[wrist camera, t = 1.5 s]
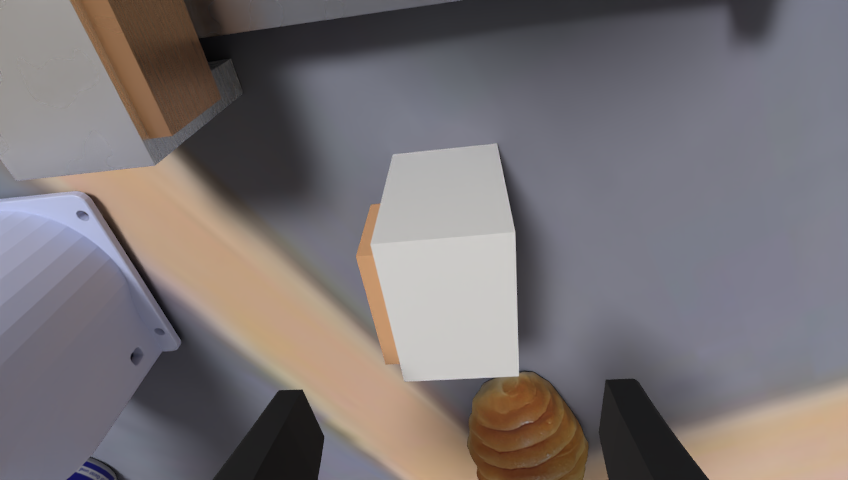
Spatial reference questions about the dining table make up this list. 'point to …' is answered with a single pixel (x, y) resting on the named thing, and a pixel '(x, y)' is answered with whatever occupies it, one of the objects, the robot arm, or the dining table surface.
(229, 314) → the dining table surface
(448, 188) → the white cube orange side
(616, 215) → the dining table surface
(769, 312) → the dining table surface
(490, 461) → the pastry
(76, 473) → the energy drink
